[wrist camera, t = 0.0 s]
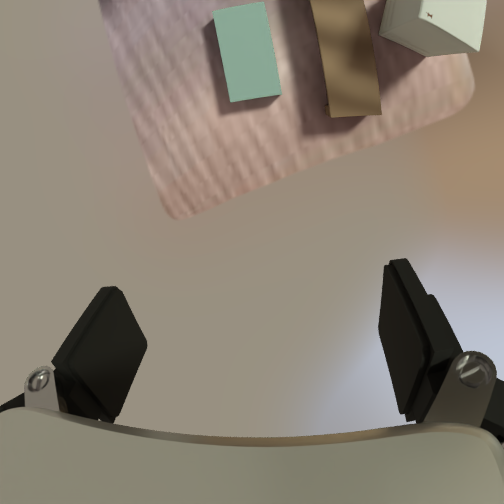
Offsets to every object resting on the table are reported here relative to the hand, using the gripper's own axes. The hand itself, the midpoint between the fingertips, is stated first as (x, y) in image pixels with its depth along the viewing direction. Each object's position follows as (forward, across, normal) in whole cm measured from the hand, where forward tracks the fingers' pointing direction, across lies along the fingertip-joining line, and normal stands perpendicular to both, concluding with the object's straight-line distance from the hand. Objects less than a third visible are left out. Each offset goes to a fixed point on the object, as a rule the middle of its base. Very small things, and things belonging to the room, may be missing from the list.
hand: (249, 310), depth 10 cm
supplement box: (+31, -20, -15) cm, 40 cm away
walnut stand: (+31, -10, -12) cm, 35 cm away
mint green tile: (+31, +1, -12) cm, 33 cm away
